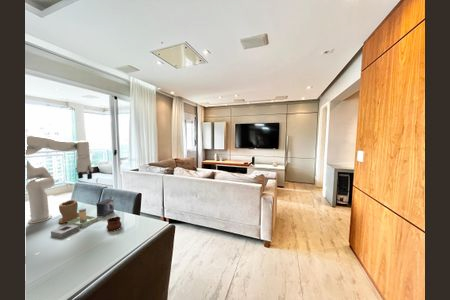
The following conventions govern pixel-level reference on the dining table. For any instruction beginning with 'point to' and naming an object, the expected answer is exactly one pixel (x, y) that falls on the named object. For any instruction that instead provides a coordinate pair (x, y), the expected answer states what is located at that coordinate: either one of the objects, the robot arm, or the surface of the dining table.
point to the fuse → (82, 215)
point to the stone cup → (68, 211)
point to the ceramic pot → (113, 223)
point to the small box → (105, 207)
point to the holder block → (64, 231)
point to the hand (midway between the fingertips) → (85, 178)
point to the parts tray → (89, 220)
